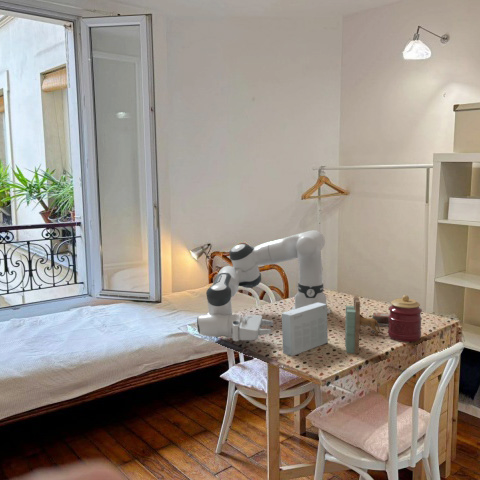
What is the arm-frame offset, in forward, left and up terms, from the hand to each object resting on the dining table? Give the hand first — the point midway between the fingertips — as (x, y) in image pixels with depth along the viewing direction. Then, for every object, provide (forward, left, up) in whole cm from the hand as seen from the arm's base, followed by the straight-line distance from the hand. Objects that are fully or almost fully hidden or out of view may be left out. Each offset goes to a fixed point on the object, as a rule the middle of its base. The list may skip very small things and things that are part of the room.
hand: (272, 327), depth 197 cm
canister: (-16, +53, -8) cm, 56 cm away
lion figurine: (-20, +37, -8) cm, 43 cm away
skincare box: (0, +13, -8) cm, 15 cm away
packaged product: (-33, +51, -9) cm, 61 cm away
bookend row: (0, +31, -8) cm, 32 cm away
